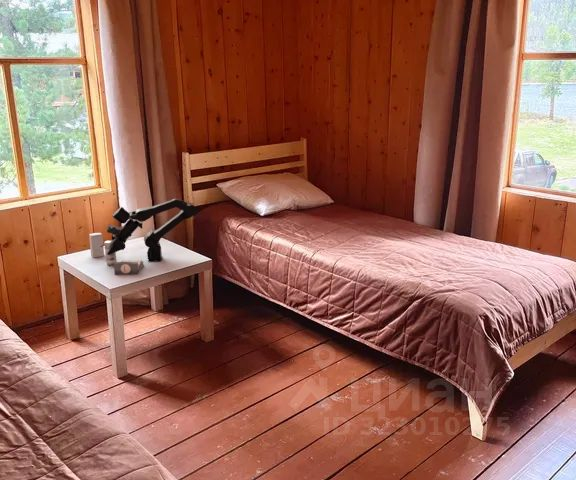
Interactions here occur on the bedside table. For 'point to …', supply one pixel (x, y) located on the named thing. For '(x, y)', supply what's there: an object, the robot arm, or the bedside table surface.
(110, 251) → the robot arm
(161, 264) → the bedside table surface
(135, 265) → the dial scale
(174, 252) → the bedside table surface
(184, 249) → the bedside table surface
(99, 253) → the skincare box
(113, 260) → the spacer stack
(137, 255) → the bedside table surface
